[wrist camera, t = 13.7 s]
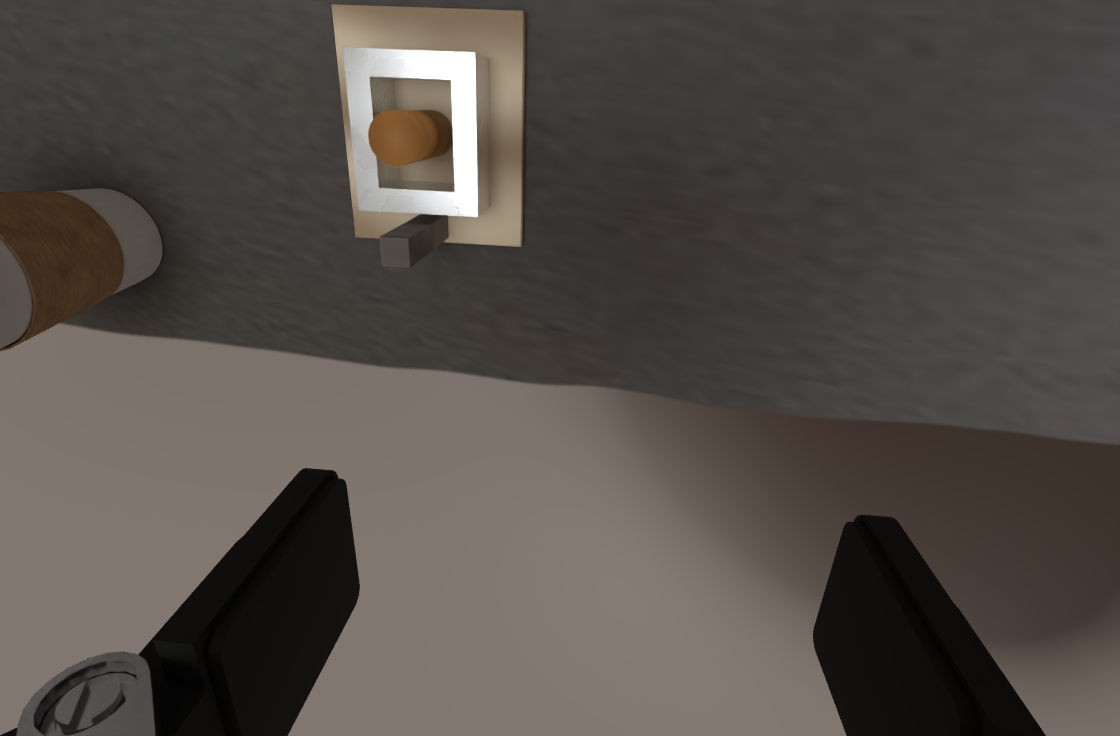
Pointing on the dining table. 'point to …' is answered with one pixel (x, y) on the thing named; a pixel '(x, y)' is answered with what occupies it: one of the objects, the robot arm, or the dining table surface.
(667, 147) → the dining table surface
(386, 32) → the keeper
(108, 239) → the coffee cup
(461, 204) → the link
